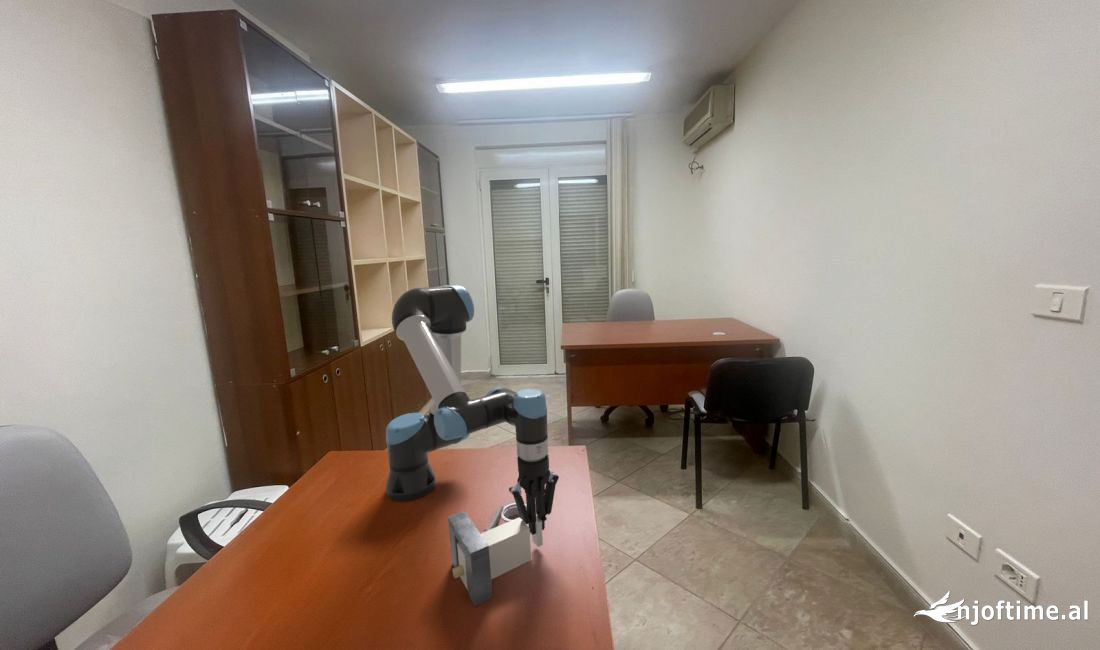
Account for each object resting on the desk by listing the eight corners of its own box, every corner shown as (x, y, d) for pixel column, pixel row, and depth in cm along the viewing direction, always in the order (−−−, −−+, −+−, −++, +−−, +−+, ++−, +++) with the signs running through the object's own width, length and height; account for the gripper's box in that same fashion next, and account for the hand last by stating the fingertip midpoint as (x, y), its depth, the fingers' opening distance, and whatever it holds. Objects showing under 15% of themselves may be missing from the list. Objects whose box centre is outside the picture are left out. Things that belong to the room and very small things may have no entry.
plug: (451, 580, 93) (448, 546, 91) (521, 548, 102) (519, 517, 100) (459, 595, 88) (455, 560, 87) (531, 560, 98) (529, 528, 96)
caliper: (487, 559, 99) (485, 536, 98) (482, 559, 99) (480, 536, 98) (503, 508, 119) (502, 488, 118) (500, 508, 119) (498, 488, 118)
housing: (452, 564, 98) (447, 516, 95) (468, 557, 100) (464, 510, 97) (474, 606, 85) (470, 553, 83) (492, 597, 87) (488, 545, 85)
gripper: (516, 469, 91) (521, 563, 95) (564, 452, 98) (567, 540, 102) (501, 456, 97) (507, 544, 101) (547, 441, 104) (551, 524, 108)
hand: (537, 542), depth 101 cm, fingers closed
